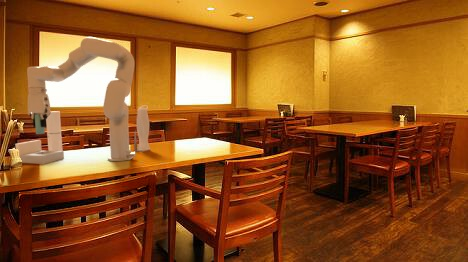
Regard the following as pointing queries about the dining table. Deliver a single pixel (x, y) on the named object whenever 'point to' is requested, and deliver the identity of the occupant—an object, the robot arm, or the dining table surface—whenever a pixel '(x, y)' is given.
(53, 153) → the socket block
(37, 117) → the dowel
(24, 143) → the wall
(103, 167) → the dining table surface
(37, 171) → the dining table surface
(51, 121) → the cylindrical container
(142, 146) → the white bottle
